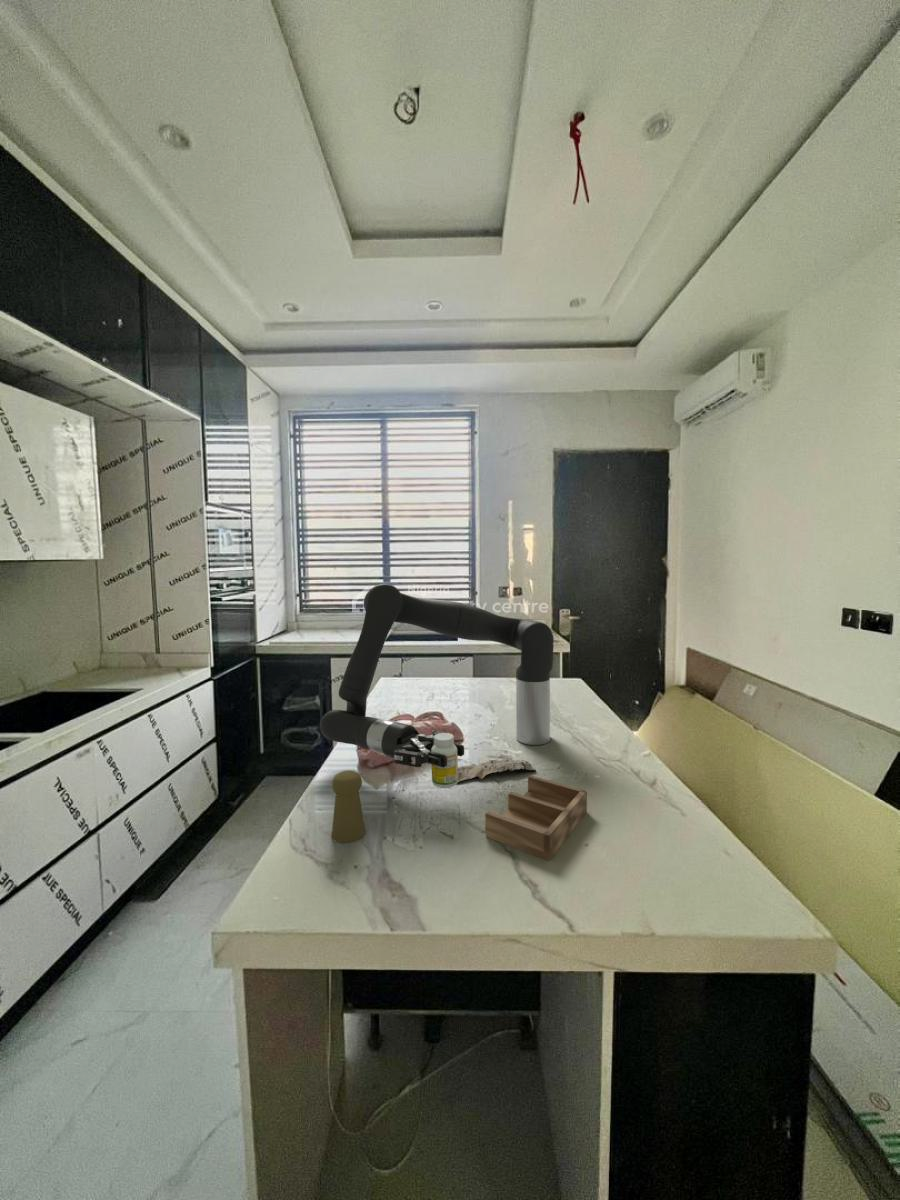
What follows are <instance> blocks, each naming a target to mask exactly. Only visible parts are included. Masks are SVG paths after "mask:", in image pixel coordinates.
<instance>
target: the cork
mask: <svg viewBox="0 0 900 1200" xmlns="http://www.w3.org/2000/svg"><path fill="white" fill-rule="evenodd" d="M331 784H332V786H331V787H332V790H333V792H334V794H335V798H334V799H335V800H334V808H333V819H332V828H331V839H332V840H333V841H334V842H336V843H339V844H342V843H343V844H349V843H354V842H356V841H358V840H360V839H362V838H363V837H364V836H365V834H366V831H367V830H366V825H365V818H364V812H363V808H362V801H361V799H362V798H361V795H360V794H361V793H360V790H361V789H362V787H363V786H362V785H363V779H362V776H361V774H360V773H359V772H358V771H356V770H343V771H340V772H339V773H337V774H336V775H335V776H334V777H333V779H332V783H331Z"/></svg>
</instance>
